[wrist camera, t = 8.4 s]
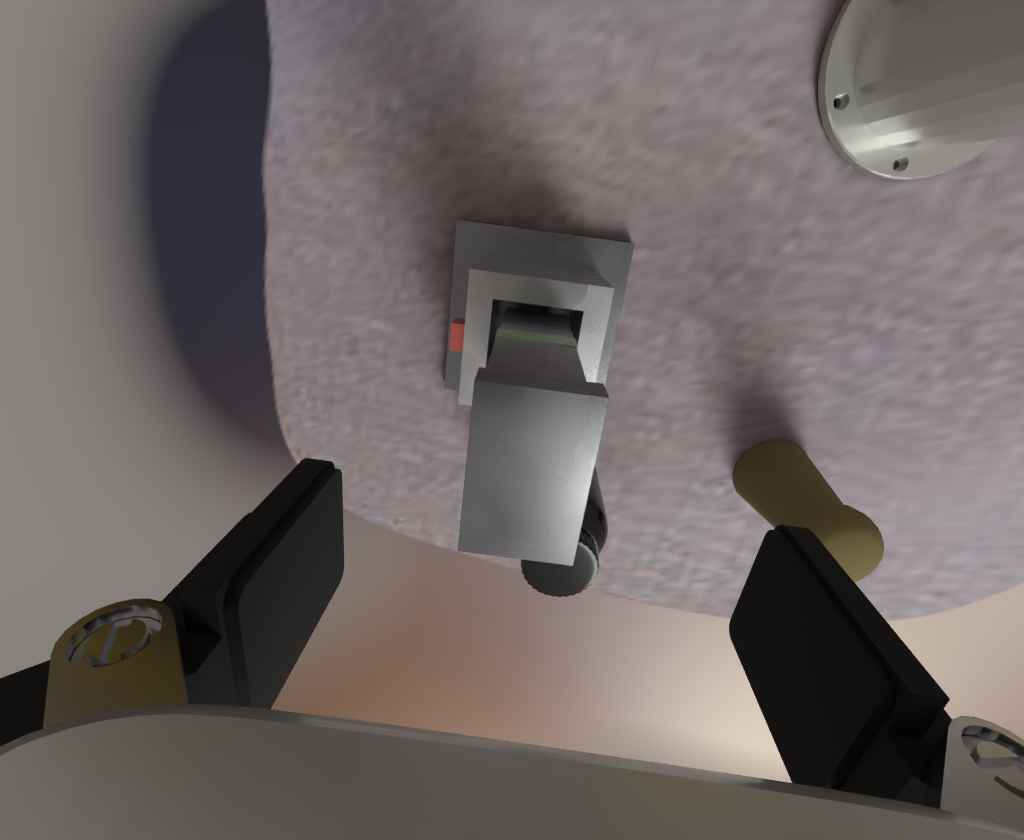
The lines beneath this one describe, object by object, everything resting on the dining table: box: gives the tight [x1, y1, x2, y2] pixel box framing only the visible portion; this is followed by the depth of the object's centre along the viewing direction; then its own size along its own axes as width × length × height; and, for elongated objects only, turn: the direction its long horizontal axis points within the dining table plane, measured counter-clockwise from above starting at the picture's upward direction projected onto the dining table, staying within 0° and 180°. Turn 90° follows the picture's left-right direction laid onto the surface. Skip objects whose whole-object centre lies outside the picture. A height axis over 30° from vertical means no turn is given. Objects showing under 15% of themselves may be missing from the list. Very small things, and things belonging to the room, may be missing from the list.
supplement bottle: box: [521, 465, 608, 597], centre depth 35 cm, size 7×7×12 cm
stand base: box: [444, 219, 635, 406], centre depth 32 cm, size 12×12×9 cm
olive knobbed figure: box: [733, 440, 884, 582], centre depth 35 cm, size 6×6×11 cm
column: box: [458, 307, 609, 566], centre depth 22 cm, size 6×4×17 cm, turn 173°
